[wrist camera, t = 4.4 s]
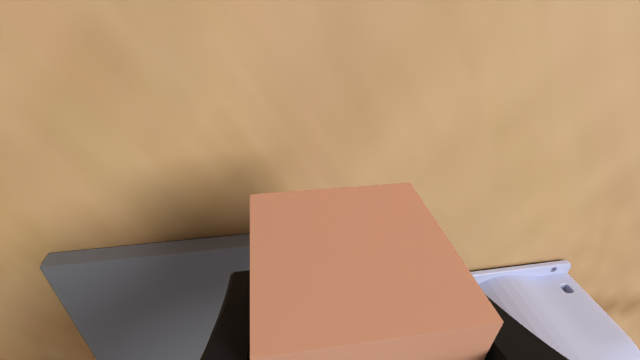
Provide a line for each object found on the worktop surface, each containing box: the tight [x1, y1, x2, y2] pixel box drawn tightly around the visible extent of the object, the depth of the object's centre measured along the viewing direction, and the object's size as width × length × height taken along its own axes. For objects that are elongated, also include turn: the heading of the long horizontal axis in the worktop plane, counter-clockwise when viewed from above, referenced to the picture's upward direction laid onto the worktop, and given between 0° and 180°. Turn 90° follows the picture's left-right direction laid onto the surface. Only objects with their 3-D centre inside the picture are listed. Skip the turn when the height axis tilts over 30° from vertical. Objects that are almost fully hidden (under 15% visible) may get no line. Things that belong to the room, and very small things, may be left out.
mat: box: [40, 234, 250, 360], centre depth 23 cm, size 13×13×1 cm
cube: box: [250, 183, 504, 360], centre depth 10 cm, size 5×5×5 cm
